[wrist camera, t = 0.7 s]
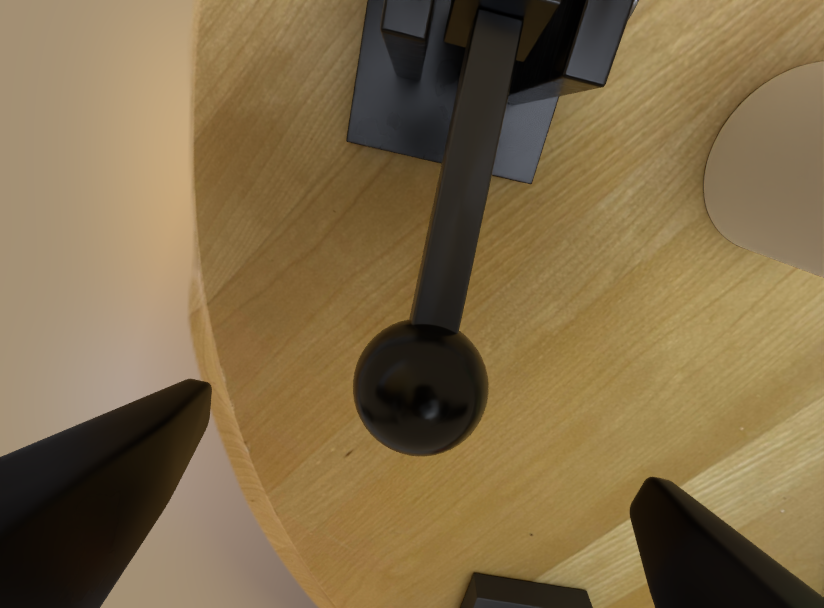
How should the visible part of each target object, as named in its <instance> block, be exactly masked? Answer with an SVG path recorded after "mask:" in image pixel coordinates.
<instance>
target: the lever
mask: <svg viewBox="0 0 824 608" xmlns="http://www.w3.org/2000/svg"><path fill="white" fill-rule="evenodd" d="M561 2H562V0H451V5H450V9H449V14H448V19H447V24H446V29H445V34H444V39H443V40H444V42H446V43H450V44H454V45H458V46H462V47H466V48H465V53H464V58H463V63H462V68H461V72H460V77H459V82H458V87H457V92H456V97H455V101H454V106H453V111H452V116H451V121H450V125H449V130H448V135H447V140H446V145H445V150H444V154H443V159H442V164H441V169H440V174H439V179H438V183H437V188H436V193H435V198H434V203H433V207H432V212H431V217H430V222H429V227H428V232H427V236H426V241H425V246H424V251H423V256H422V261H421V265H420V270H419V275H418V280H417V285H416V289H415V294H414V299H413V304H412V309H411V314H410V318H409V320H404V321H401V322H398V323H395V324H393V325H391V326H389V327H387V328H385V329H384V330H382V331H381V332H380V333H378V334H377V335H376V336H375V337H374V338H373V339H372V340H371V341H370V342H369V343H368V345H367V346H366V347H365V349H364V350H363V352H362V354H361V355H360V358H359V360H358V362H357V365H356V369H355V372H354V379H353V395H354V402H355V406H356V410H357V412H358V414H359V417H360V419H361V420H362V422H363V424H364V426H365V427H366V429H367V430H368V431H369V432H370V434H371V435H372V436H373V437H374V438H375V439H376V440H378V441H379V442H380V443H382V444H383V445H384V446H386V447H388V448H390V449H392V450H394V451H396V452H399V453H402V454H406V455H410V456H431V455H437V454H440V453H444V452H446V451H448V450H451V449H452V448H454V447H456V446H458V445H459V444H460V443H462V442H463V441H464V440H465V439H466V438H467V437H468V436H469V435H470V434H471V433H472V432H473V431H474V429H475V428H476V427H477V425H478V423H479V422H480V420H481V418H482V415H483V413H484V411H485V408H486V404H487V399H488V376H487V372H486V368H485V364H484V362H483V359H482V357H481V355H480V353H479V352H478V350H477V349H476V347H475V346H474V345H473V343H472V342H471V341H470V340H469V339H468V338H467V337H466V336H465V335H464V334H463V333H461V332H460V331H459V328H460V323H461V318H462V314H463V309H464V304H465V299H466V295H467V290H468V285H469V280H470V276H471V271H472V266H473V261H474V257H475V252H476V247H477V242H478V238H479V233H480V228H481V223H482V219H483V214H484V209H485V205H486V200H487V195H488V190H489V186H490V181H491V176H492V171H493V167H494V162H495V157H496V152H497V148H498V143H499V138H500V133H501V129H502V124H503V119H504V114H505V110H506V105H507V100H508V95H509V91H510V86H511V81H512V76H513V72H514V67H515V62H516V60H517V61H521V62H524V61H525V60H526V58H527V57H528V55H529V53H530V52H531V50H532V49H533V47H534V46H535V44H536V43H537V41H538V39H539V38H540V36H541V35H542V33H543V32H544V30H545V28H546V27H547V25H548V24H549V22H550V21H551V19H552V18H553V16H554V14H555V13H556V11H557V10H558V8H559V7H560V5H561Z"/></svg>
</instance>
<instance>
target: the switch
mask: <svg viewBox="0 0 824 608" xmlns="http://www.w3.org/2000/svg"><path fill="white" fill-rule="evenodd" d="M638 1H639V0H562V2H561V5H560V7H559V8H558V10H557V11H556V13H555V14H554V16H553V18H552V19H551V21H550V22H549V24H548V25H547V27H546V28H545V30H544V32H543V33H542V35H541V36H540V38H539V39H538V41H537V43H536V44H535V46H534V47H533V49H532V50H531V52H530V53H529V55H528V57H527V58H526V60H525V61H524V62H521V61H517V60H516V62H515V67H514V72H513V76H512V81H511V86H510V91H509V95H508V100H507V105H506V110H505V114H504V119H503V124H502V129H501V133H500V138H499V143H498V148H497V152H496V157H495V162H494V167H493V171H492V175H493V176H497V177H502V178H506V179H510V180H515V181H519V182H523V183H528V184H532V181H533V178H534V175H535V172H536V169H537V165H538V162H539V159H540V156H541V153H542V149H543V146H544V143H545V140H546V137H547V133H548V130H549V127H550V124H551V121H552V118H553V114H554V111H555V108H556V105H557V102H558V98H559V96H563V95H567V94H572V93H577V92H582V91H587V90H591V89H596V88H601V87H604V86H605V84H606V81H607V78H608V76H609V73H610V70H611V67H612V64H613V61H614V58H615V55H616V52H617V50H618V47H619V44H620V41H621V38H622V35H623V32H624V29H625V26H626V24H627V21H628V19H629V18H630V16H631V15H632V13H633V11H634V9H635V8H636V6H637V3H638ZM450 5H451V0H368V1H367V8H366V14H365V21H364V27H363V34H362V41H361V47H360V54H359V60H358V67H357V73H356V80H355V87H354V93H353V100H352V106H351V113H350V119H349V126H348V132H347V139H346V141H347V142H350V143H355V144H359V145H363V146H368V147H372V148H376V149H381V150H385V151H389V152H394V153H398V154H402V155H407V156H411V157H415V158H419V159H424V160H428V161H432V162H437V163H441V164H442V159H443V154H444V150H445V145H446V140H447V135H448V130H449V125H450V121H451V116H452V111H453V106H454V101H455V97H456V92H457V87H458V82H459V77H460V72H461V68H462V63H463V58H464V53H465V48H466V47H462V46H458V45H454V44H450V43H446V42H444V40H443V39H444V34H445V29H446V24H447V19H448V14H449V9H450Z"/></svg>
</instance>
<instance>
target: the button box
mask: <svg viewBox="0 0 824 608" xmlns="http://www.w3.org/2000/svg"><path fill="white" fill-rule="evenodd" d="M461 608H593V607H592V604H591V602H590V599H589V596H588V593H587V591H584V590H577V589H571V588H565V587H559V586H552V585H546V584H540V583H533V582H527V581H521V580H514V579H508V578H502V577H495V576H489V575H483V574H476V573H474V575H473V577H472V580H471V582H470V585H469V587H468V590H467V592H466V595H465V597H464V600H463V603H462V605H461Z"/></svg>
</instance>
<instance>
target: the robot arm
mask: <svg viewBox="0 0 824 608" xmlns="http://www.w3.org/2000/svg"><path fill="white" fill-rule="evenodd" d="M211 394H212V388H211V385H210V384H209V383H208V382H204V381H199V380H195V379H187V380H184V381H182V382H179V383H177V384H175V385H172V386H170V387H167V388H165V389H162V390H160V391H158V392H155V393H153V394H150V395H148V396H146V397H143V398H141V399H139V400H136V401H134V402H132V403H129V404H127V405H124V406H122V407H119V408H117V409H115V410H112V411H110V412H107V413H105V414H103V415H100V416H98V417H95V418H93V419H91V420H89V421H86V422H83V423H81V424H79V425H76V426H74V427H72V428H69V429H67V430H64V431H62V432H59V433H57V434H55V435H52V436H50V437H47V438H45V439H43V440H40V441H38V442H36V443H33V444H31V445H28V446H26V447H23V448H21V449H19V450H16V451H14V452H12V453H9V454H7V455H4V456H2V457H0V608H100V607H101V605H102V604H103V602H104V600H105V599H106V598H107V596H108V594H109V593H110V591H111V590H112V588H113V587H114V585H115V584H116V582H117V581H118V579H119V578H120V576H121V575H122V573H123V571H124V570H125V568H126V567H127V565H128V564H129V562H130V561H131V559H132V558H133V556H134V555H135V553H136V552H137V550H138V549H139V547H140V545H141V544H142V543H143V541H144V540H145V538H146V536H147V535H148V533H149V532H150V530H151V529H152V527H153V526H154V524H155V523H156V521H157V520H158V518H159V516H160V515H161V514H162V512H163V510H164V509H165V507H166V505H167V504H168V502H169V500H170V499H171V497H172V495H173V493H174V491H175V489H176V487H177V485H178V483H179V481H180V479H181V477H182V475H183V473H184V472H185V470H186V468H187V466H188V464H189V462H190V460H191V458H192V456H193V454H194V452H195V450H196V448H197V446H198V444H199V442H200V440H201V438H202V436H203V434H204V432H205V430H206V428H207V426H208V422H209V418H210V406H211ZM630 518H631V522H632V526H633V530H634V533H635V537H636V541H637V545H638V549H639V552H640V556H641V560H642V564H643V568H644V571H645V575H646V579H647V583H648V586H649V589H650V593H651V596H652V599H653V602H654V605H655V608H824V598H823V597H822V596H821V595H820V594H818V593H817V592H816V591H814V590H813V589H812V588H810V587H809V586H808V585H806V584H805V583H804V582H803V581H801V580H800V579H799V578H797V577H796V576H795V575H793V574H792V573H791V572H789V571H788V570H787V569H786V568H784V567H783V566H782V565H780V564H779V563H778V562H776V561H775V560H774V559H772V558H771V557H770V556H769V555H767V554H766V553H765V552H763V551H762V550H761V549H759V548H758V547H757V546H755V545H754V544H753V543H752V542H750V541H749V540H748V539H746V538H745V537H744V536H742V535H741V534H740V533H738V532H737V531H736V530H735V529H733V528H732V527H731V526H729V525H728V524H727V523H725V522H724V521H723V520H721V519H720V518H719V517H718V516H716V515H715V514H714V513H712V512H711V511H710V510H708V509H707V508H706V507H704V506H703V505H702V504H701V503H699V502H698V501H697V500H695V499H694V498H693V497H691V496H690V495H689V494H687V493H686V492H685V491H684V490H682V489H681V488H680V487H678V486H677V485H676V484H674V483H673V482H671V481H669V480H666V479H662V478H657V477H649V478H647V479H646V480H645V481H644V483H643V485H642V486H641V488H640V490H639V491H638V493H637V495H636V496H635V498H634V500H633V501H632V503H631V506H630Z"/></svg>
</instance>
